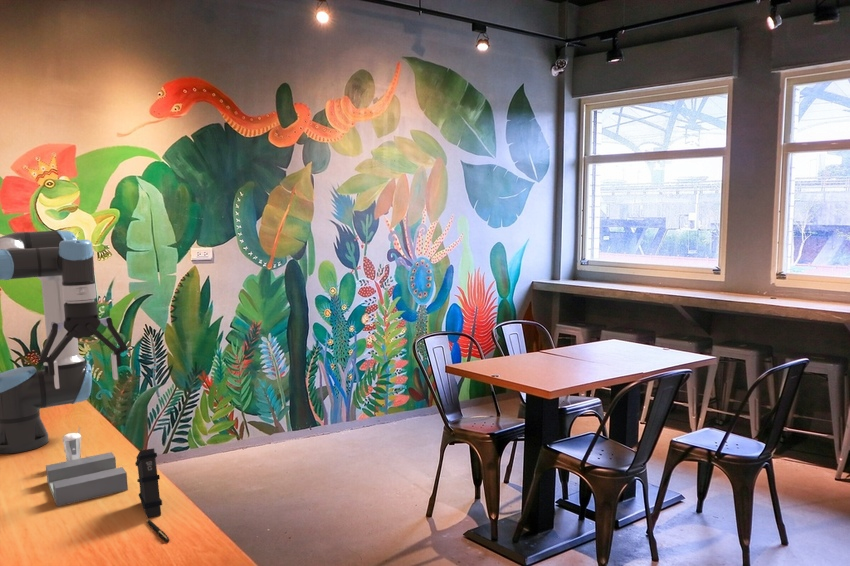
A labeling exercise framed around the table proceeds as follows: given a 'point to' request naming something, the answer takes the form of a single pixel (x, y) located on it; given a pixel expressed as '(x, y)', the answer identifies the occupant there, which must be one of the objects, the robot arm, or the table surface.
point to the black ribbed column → (149, 482)
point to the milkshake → (72, 445)
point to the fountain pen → (158, 531)
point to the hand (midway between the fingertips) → (86, 383)
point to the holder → (85, 478)
